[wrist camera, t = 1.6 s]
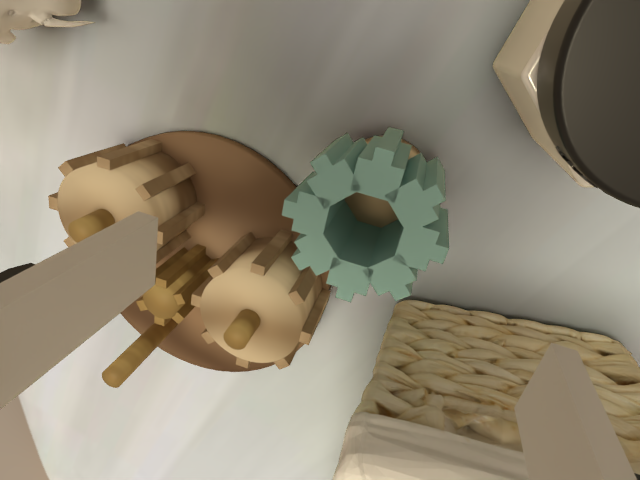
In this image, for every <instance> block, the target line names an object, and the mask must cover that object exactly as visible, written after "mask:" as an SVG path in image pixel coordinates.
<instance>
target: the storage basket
mask: <svg viewBox="0 0 640 480" xmlns="http://www.w3.org/2000/svg"><path fill="white" fill-rule="evenodd" d="M551 343H554V344H558V345H561V346H564V347H567V348H570V349H573V350H576V351H578V353H579V355H580V357H581V359H582V361H583V364H584V366H585V368H586V370H587V372H588V374H589V377H590V379H591V381H592V383H593V385H594V387H595V390H596V392H597V394H598V396H599V398H600V400H601V403H602V405H603V407H604V409H605V411H606V413H607V416H608V418H609V420H610V422H611V424H612V426H613V429H614V431H615V433H616V435H617V437H618V439H619V442H620V444H621V446H622V448H623V450H624V452H625V455H626V457H627V459H628V461H629V463H630V465H631V468H632V470H633V472H634V473H636V474H639V475H640V368H639V367H638V365H637V362H636V361H635V360H634V358H633V357H632V356H631V354H632V353H630V352H629V351H627V350H626V348H625V347H623V346H622V343H620V342H618V341H616V340H613V339H610V338H609V337H607V336H603V335H600V334H595V333H588V332H578V331H575V330H573V329H570V328H567V327H561V326H553V325H545V324H542V323H539V322H536V321H530V320H524V319H507V318H505V317H504V316H502V315H499V314H495V313H490V312H485V311H466V310H463V309H461V308H457V307H454V306H449V305H433V304H431V303H427V302H423V301H416V300H404V301H401V302H399V303H397V304H396V305H395V307H394V311H393V315H392V317H391V319H390V321H389V323H388V325H387V330H386V332H385V334H384V337H383V341H382V344H381V348H380V352H379V353H378V356H377V358H376V365H375V367H374V370H373V378H372V379H371V381H370V383H369V384H368V385H367V387H366V389H365V390H364V392H363V396H362V400H361V403H360V405H359V406H358V407H357V409H356V410H355V412H354V414H353V415H352V417H351V419H350V422H349V424H348V427H347V430H346V433H345V437H344V442H343V446H342V450H341V454H340V458H339V463H338V466H337V468H336V471H335V474H334V477H333V480H529V477H528V472H527V467H526V462H525V458H524V453H523V448H522V443H521V438H520V434H519V429H518V424H517V419H516V414H515V410H514V407H515V405H516V404H517V402H518V400H519V398H520V396H521V395H522V393H523V391H524V389H525V388H526V386H527V384H528V382H529V381H530V379H531V377H532V375H533V374H534V372H535V370H536V368H537V367H538V365H539V363H540V361H541V360H542V358H543V356H544V354H545V353H546V351H547V349H548V347H549V346H550V344H551Z"/></svg>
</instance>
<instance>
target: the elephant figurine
mask: <svg viewBox="0 0 640 480" xmlns="http://www.w3.org/2000/svg"><path fill="white" fill-rule="evenodd" d="M80 7H81V0H0V43H3V44H11V43H12V42H13V41H14V40H15V39H16V36H15V35H14V34H13V33H11V31H10V30H11V29H13V30H24V29H30V28H33V27H37V26H40V25H43V24H44V25H45V26H47V27H76V26H81V25H86V24H91V23H95V22H89V21H64V20H58V19H55V18H53V17H52V15H56V16H72V15H76V14H77V13H78V12H79V10H80Z"/></svg>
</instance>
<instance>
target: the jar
mask: <svg viewBox="0 0 640 480" xmlns="http://www.w3.org/2000/svg"><path fill="white" fill-rule="evenodd" d="M493 69H494V71H495V72H496V74H497V76H498V78H499V80H500V81H501V83H502V85H503V87H504V89H505V90H506V92H507V94H508V96H509V98H510V99H511V101H512V103H513V105H514V107H515V108H516V110H517V112H518V114H519V116H520V118H521V119H522V121H523V123H524V125H525V127H526V128H527V130H528V132H529V134H530V136H531V137H532V138H533V139H534V140H535V141H536V142H537V143H538V144H539V145H540V146H541V147H542V148H543V149H544V150H545V151H546V152H547V153H548V154H549V155H550V156H551V157H552V158H553V159H554V160H555V161H556V162H557V163H558V164H559V165H560V166H561V167H562V168H563V169H564V170H565V171H566V172H567V173H568V174H569V175H570V176H571V177H572V178H573V179H574V180H575V181H576V182H577V183H578V184H579V185H580V186H582V187H596V188H599V189H601V190H602V191H603V192H605V193H606V194H608V195H610V196H612V197H614V198H616V199H618V200H620V201H622V202H625V203H627V204H630V205H632V206H635V207H638V208H640V0H530V2H529V3H528V5H527V7H526V8H525V10H524V12H523V13H522V15H521V17H520V18H519V20H518V22H517V23H516V25H515V27H514V29H513V30H512V32H511V34H510V35H509V37H508V39H507V40H506V42H505V44H504V45H503V47H502V49H501V50H500V52H499V54H498V55H497V57H496V59H495V61H494V62H493Z"/></svg>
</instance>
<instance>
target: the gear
mask: <svg viewBox="0 0 640 480" xmlns="http://www.w3.org/2000/svg"><path fill="white" fill-rule="evenodd" d="M403 133H404V131H403V130H399V129H395V128H391V127H388V129H387V130H386V132H385V134H384V135H383V137H379V136H375V135H374V137H373V138H372V139H371V141H370V142H369V143H368V144H367V143H366V141H365V139H364V137H362V138H360V139H359V140H357V141H355V142H354V143H353V141H352V139H351V137H350V136H349V134H348V133H346V134H345V135H343V136H342V137H340V138H338V139H337V140H335V141H334V142H333V143H332V144H331V145H329V146H328V147H327V148H326V149H325V150H324V151H323V152H322V153H320V154H319V155H318V156H317V157H316V158H315V159H314V160H312V161H311V162H310V163H311V165H312V167H313V168H314V170H315V171H316V172H312V173H311V174H310V175H309V176H308V177H307V178H306V179H305V180H304V181H303V182H302V183H301V184H300V185H299V186H298V187H297V188H296V189H295V190H294V191H293V192H292V193H291V194H290V195H289V196H288V197H287V198H286V199H285V200H284V205H283V210H282V216H285V217H289V218H292V219H294V220H293V225H292V231H295V232H298V233H301V234H300V235H299V236H298V238H297V239H296V240H295V241H294V243H295V244H296V246H297V247H298V248H297V250H296V251H295V252H294V254H293V255H292V257H291V258H292V260H293V261H294V263H295V264H296V266H297V267H298V269H299V270H302V269H305V268H307V267H309V266H310V267H311V269H312V270H313V272H314V273H315V275H316V276H317V275H320V274H322V273H324V272H326V271H328V270H329V274H328V278H327V282H326V284H330V285H333V286H336V287H338V289H337V293H336V298H339V299H342V300H345V301H348V302H351V301H352V298H353V295H354V292H355V293H358V294H361V295H364V296H366V294H367V291H368V288H369V284H370V283H371V285H372V286H373V288H374V290H375V291H376V293H377V294H378V296H379V295H382V294H384V293H386V292H389V291H390V293H391V294H392V296H393V298H394V299H395V301H398V300H400V299H403V298H405V297H408V296H410V295H411V291H412V283H413V281H416V280H417V271H418V269H419V270H422V271H426V268H427V266H428V263H429V260H431V261H434V262H438V263H441V264H443V263H444V260H445V258H446V255H447V252H448V250H449V234H448V210H447V209H443V208H440V203H442V202H444V201H446V199H445V170H444V168H443V166H442V164H441V162H440V161H439V159H438V157H436V158H434V159H432V160H430V161H429V162H426V160H425V158H424V157H423V155H422V153H419V154H417V155H416V156H414V157H412V158H410V159H408V157H409V154H410V150H411V147H412V145H409V144H405V143H402V142H401V139H402V136H403ZM356 192H358V193H361V194H365V195H368V196H372V197H375V198H379V199H382V200H386V201H388V202H389V204H390V206H391V207H392V209H393V211H394V212H395V214H396V216H397V218H398V220H396V221H394V222H392V223H390V224H388V225H386V226H384V227H382V228H380V227H377V226H373V225H370V224H367V223H363V222H360V221H357V219H356V218H355V216H354V215H353V213H352V211H351V210H350V208H349V206H348V205H347V203H346V201H345V198H346V197H348V196H350V195H352V194H354V193H356Z"/></svg>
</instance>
